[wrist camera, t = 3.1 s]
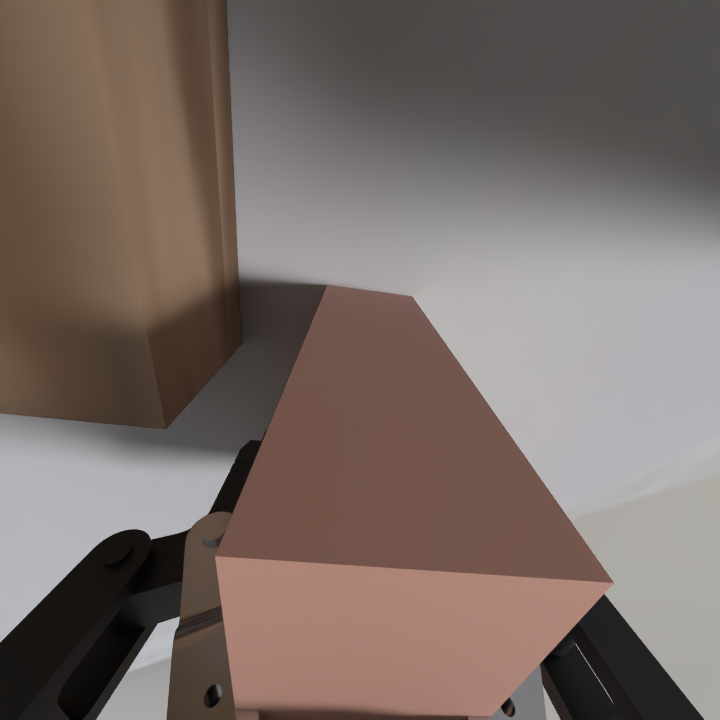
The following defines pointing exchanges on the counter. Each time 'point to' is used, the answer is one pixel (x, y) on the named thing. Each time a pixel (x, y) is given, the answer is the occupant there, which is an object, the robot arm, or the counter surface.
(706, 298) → the counter surface
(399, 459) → the pink rectangular block
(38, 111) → the book stand
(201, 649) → the robot arm
